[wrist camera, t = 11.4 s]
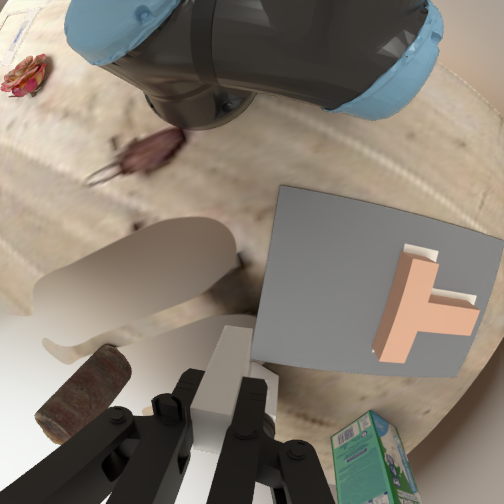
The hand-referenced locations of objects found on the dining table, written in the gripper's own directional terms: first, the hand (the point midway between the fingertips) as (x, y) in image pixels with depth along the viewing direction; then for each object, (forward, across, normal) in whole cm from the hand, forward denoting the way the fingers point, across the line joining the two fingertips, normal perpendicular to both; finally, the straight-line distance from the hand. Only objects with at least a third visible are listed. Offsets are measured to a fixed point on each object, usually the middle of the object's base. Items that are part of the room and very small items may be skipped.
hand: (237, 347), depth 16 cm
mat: (+22, +18, -5) cm, 29 cm away
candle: (+22, -23, -22) cm, 39 cm away
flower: (+23, -43, +28) cm, 56 cm away
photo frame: (+24, -62, +44) cm, 79 cm away
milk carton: (+21, +21, -31) cm, 43 cm away
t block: (+21, +24, -5) cm, 33 cm away
